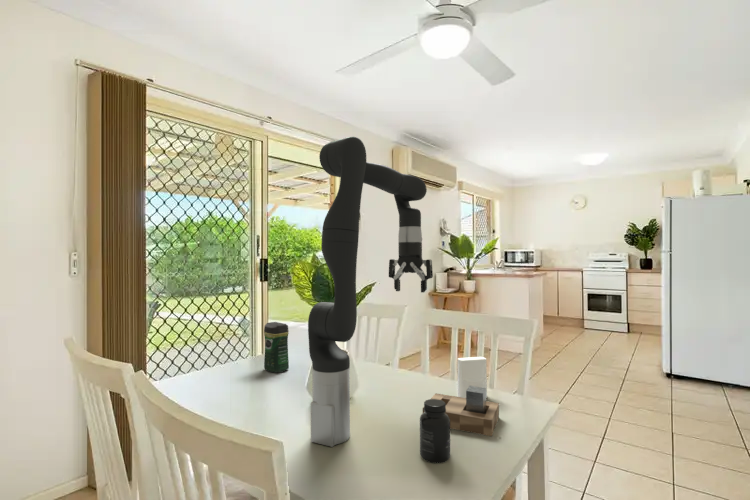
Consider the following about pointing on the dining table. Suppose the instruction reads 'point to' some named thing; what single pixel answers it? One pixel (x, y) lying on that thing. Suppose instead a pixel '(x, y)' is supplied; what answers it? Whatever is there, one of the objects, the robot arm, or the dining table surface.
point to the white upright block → (471, 374)
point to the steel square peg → (476, 399)
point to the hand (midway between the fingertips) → (410, 291)
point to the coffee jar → (276, 347)
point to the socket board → (469, 415)
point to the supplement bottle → (435, 432)
